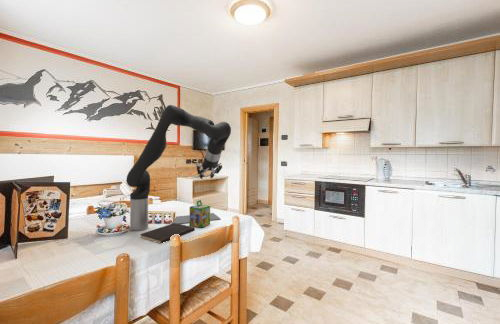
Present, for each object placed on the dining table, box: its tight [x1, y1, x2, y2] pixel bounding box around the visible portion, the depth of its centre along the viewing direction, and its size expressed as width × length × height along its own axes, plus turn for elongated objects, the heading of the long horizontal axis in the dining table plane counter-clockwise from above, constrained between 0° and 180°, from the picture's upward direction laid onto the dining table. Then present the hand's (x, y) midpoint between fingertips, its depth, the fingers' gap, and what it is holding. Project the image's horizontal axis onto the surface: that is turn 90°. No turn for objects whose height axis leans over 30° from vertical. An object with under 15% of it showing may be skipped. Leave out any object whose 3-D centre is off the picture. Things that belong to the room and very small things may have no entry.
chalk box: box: [189, 199, 211, 229], centre depth 146 cm, size 9×9×15 cm
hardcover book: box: [139, 223, 196, 244], centre depth 130 cm, size 16×23×2 cm
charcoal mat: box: [171, 212, 222, 225], centre depth 159 cm, size 30×16×1 cm, turn 115°
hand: (206, 177), depth 133 cm, fingers open, 5 cm apart
